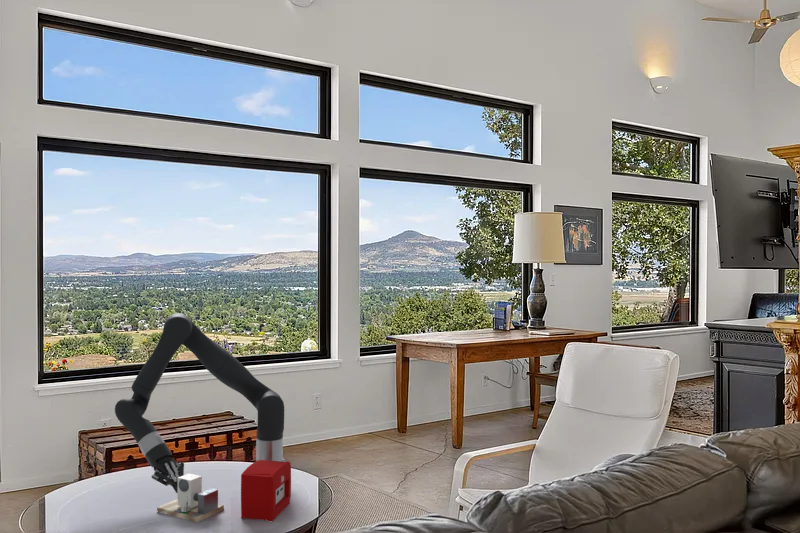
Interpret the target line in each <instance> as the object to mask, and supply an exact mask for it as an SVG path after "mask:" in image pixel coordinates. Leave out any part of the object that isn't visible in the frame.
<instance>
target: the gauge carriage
mask: <svg viewBox="0 0 800 533" xmlns="http://www.w3.org/2000/svg"><path fill="white" fill-rule="evenodd" d="M202 477H203V476H201V475H198V474H193V473H189V472H188V473H186V474H184V475H183V476H181V477H178V493H177V499H178V504H177V505H178V506H182V508H181V511H182V512H184V507H185V506H186V496H188V506H190V509H191V508H193V507H195V506H198V494H200V493H202V492H203V489H202V488H203V486H202V485H203V483H202V481H203V480H202Z"/></svg>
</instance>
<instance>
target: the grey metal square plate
mask: <svg viewBox="0 0 800 533" xmlns="http://www.w3.org/2000/svg"><path fill="white" fill-rule="evenodd" d="M218 504H219V489H217V488H214V487H212V488H209V489H207V490H204V491H202V493H200V494H198V513H201V514H206V513H209V512H211V511H213V510H215V509H217V508H218Z"/></svg>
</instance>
